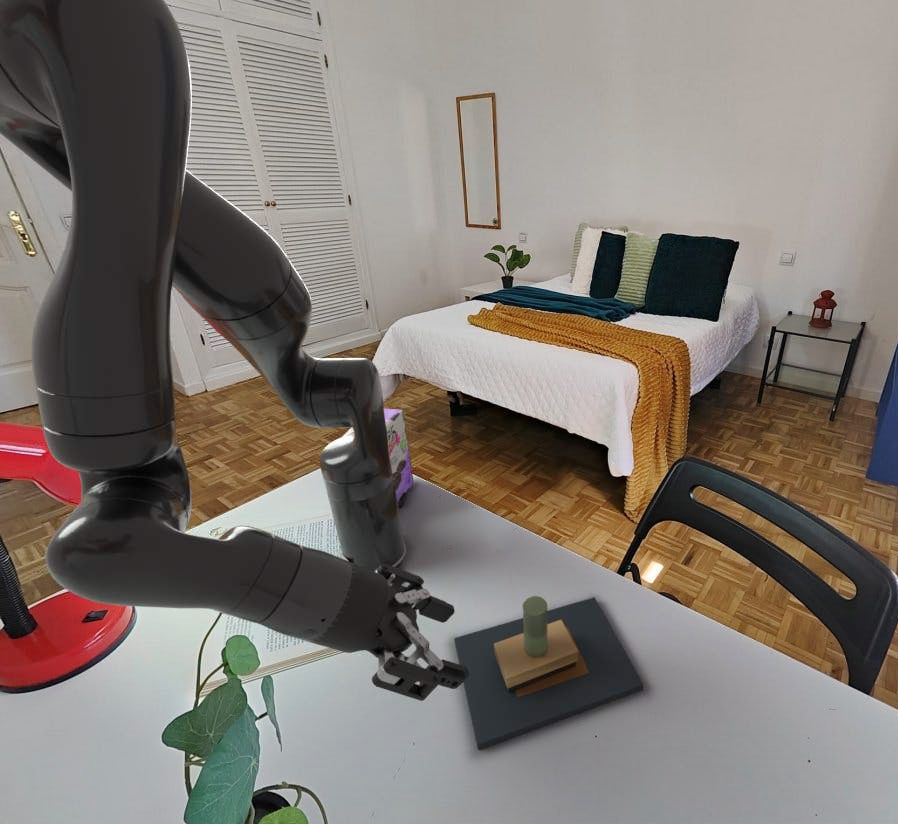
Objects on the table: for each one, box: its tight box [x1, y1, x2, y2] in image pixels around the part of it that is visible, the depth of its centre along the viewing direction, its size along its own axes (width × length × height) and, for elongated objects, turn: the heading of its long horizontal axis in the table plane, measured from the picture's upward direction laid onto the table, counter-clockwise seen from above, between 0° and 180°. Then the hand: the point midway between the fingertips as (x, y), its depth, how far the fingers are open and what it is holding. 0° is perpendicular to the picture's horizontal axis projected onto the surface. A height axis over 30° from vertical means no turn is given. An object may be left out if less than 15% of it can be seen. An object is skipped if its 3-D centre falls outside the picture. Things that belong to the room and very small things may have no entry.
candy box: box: [339, 407, 415, 502], centre depth 87 cm, size 14×6×16 cm, turn 168°
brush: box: [494, 595, 578, 693], centre depth 58 cm, size 5×9×10 cm, turn 113°
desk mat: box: [453, 596, 645, 750], centre depth 61 cm, size 14×20×1 cm
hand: (456, 644), depth 55 cm, fingers open, 8 cm apart
